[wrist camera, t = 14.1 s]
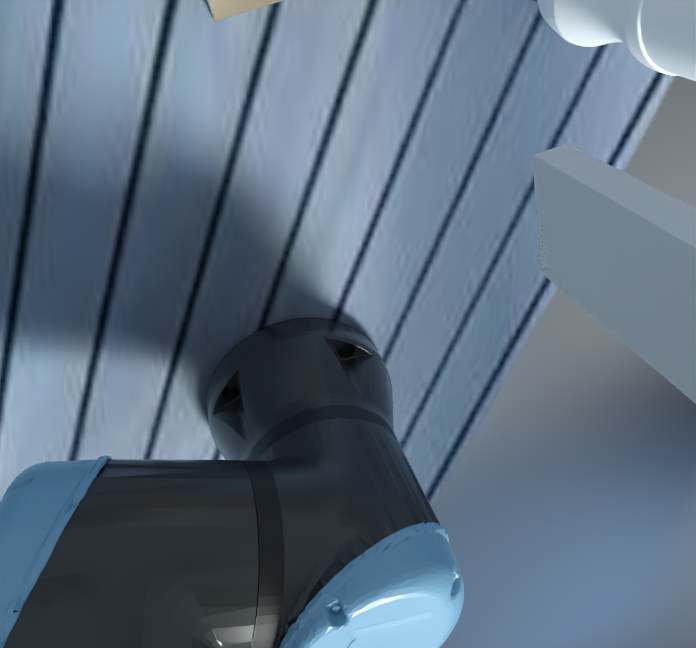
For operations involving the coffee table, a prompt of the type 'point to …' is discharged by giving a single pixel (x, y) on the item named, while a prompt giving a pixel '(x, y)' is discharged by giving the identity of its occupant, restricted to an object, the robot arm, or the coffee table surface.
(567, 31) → the water bottle
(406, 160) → the coffee table surface
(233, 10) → the socket board
